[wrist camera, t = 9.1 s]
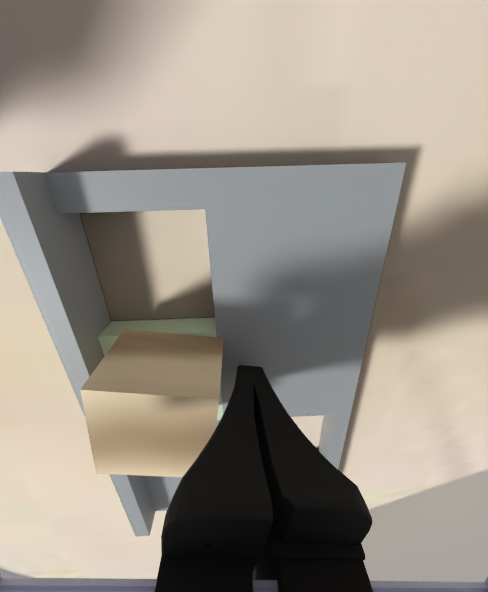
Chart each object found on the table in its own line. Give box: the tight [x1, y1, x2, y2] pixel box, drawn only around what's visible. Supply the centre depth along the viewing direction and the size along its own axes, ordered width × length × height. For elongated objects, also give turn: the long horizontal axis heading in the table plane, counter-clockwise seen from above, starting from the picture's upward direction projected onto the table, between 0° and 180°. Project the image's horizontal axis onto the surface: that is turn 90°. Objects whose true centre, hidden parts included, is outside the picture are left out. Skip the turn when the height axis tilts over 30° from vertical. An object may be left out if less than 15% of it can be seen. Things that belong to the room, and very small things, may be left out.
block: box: [80, 329, 224, 477], centre depth 12 cm, size 5×5×4 cm
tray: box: [0, 163, 406, 536], centre depth 15 cm, size 24×15×3 cm, turn 1°
